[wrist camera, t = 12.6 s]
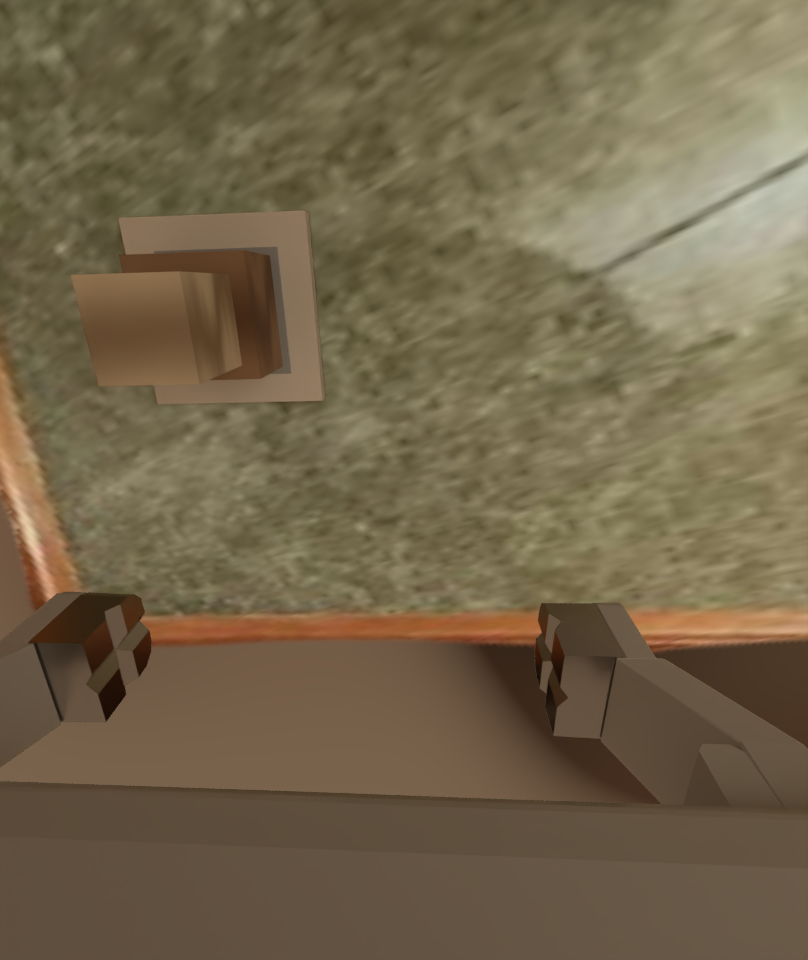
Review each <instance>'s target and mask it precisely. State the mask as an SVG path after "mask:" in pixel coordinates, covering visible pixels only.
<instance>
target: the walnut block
mask: <svg viewBox="0 0 808 960" xmlns="http://www.w3.org/2000/svg"><path fill="white" fill-rule="evenodd" d="M119 257H120V262H121V267H122V271H123V273H145V272H176V271H181V272H198V273H215V274H229V278H230V285H231V292H232V299H233V306H234V313H235V320H236V326H237V333H238V340H239V347H240V354H241V361H242V366H240V367H238V368H235V369H233V370H231V371H229V372H226V373H224V374H222V375H219V376H217V377H215V378H212V379H210V380H239V379H261V378H263V377H265V376H267V375H269V374H270V373H272V372H274V371H276V370H277V369H279V368H281V367H283V364H282V355H281V347H280V338H279V330H278V321H277V312H276V304H275V295H274V287H273V278H272V270H271V261H270V255H265V254H260V253H255V252H250V251H245V250H237V251H210V252H183V253H156V254H129V255H119Z"/></svg>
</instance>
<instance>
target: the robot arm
mask: <svg viewBox="0 0 808 960" xmlns="http://www.w3.org/2000/svg"><path fill="white" fill-rule="evenodd" d="M144 613H145V610H144V607H143V603H142V600H141V598H140V597H138V596H136V595H135V594H115V593H91V592H89V593H86V592H63V593H58V594H56V595H55V596H54V597H52V598H51V599H50V600H49V601H48V602H46V603H45V604H44V605H43V606H42V607H40V608H39V609H38V610H37V611H36V612H34V613H33V614H32V615H31V616H30V617H28V618H27V619H26V620H25V621H24V622H22V623H21V624H20V625H19V626H18V627H16V628H15V629H14V630H13V631H12V632H10V633H9V634H8V635H7V636H6V637H4V638H3V639H2V640H1V641H0V768H1V767H2V766H3V765H5V764H6V763H7V762H9V761H10V760H12V759H13V758H15V757H16V756H17V755H19V754H20V753H22V752H23V751H24V750H26V749H27V748H29V747H30V746H32V745H33V744H34V743H36V742H37V741H38V740H40V739H41V738H43V737H44V736H46V735H47V734H48V733H50V732H51V731H53V730H54V729H55V728H57V727H58V726H60V725H61V722H106V721H107V720H108V719H109V717H110V716H111V715H112V713H113V712H114V711H115V709H116V708H117V707H118V705H119V704H120V702H121V701H122V700H123V698H124V697H125V695H126V690H125V685H127V684H129V683H130V682H132V681H133V680H135V679H137V678H138V677H139V676H140V675H141V673H142V672H143V670H144V669H145V668H146V666H147V663H148V660H149V657H150V653H151V636H150V631H149V629H148V628H147V627H146V626H145V625H144V624H143V623H141V622H140V619H141V618H142V616H143V614H144ZM538 622H539V625H540V628H541V631H542V633H541V634H540V635H539V636H538V637H537V638H536V644H535V668H536V674H537V680H538V684H539V687H540V689H541V690H543V691H544V692H545V693H546V701H545V709H546V712H547V715H548V719H549V722H550V725H551V729H552V733H553V736H565V737H583V738H599V739H601V742H602V743H603V744H604V745H605V746H606V747H607V748H608V749H609V750H610V751H611V752H612V753H613V754H614V755H615V756H616V757H617V758H618V759H619V760H620V761H621V762H622V763H623V764H624V765H625V766H626V767H627V769H628V770H629V771H630V772H631V773H632V774H633V775H634V776H635V777H636V778H637V779H638V780H639V781H640V782H641V783H642V784H643V785H644V786H645V787H646V788H647V789H648V790H649V791H650V792H651V793H652V795H654V796H655V798H656V799H657V800H658V801H659V802H660V803H661V805H660V804H633V803H606V802H604V803H603V802H575V801H543V800H512V799H483V798H457V797H430V796H403V795H379V794H351V793H325V792H322V793H321V792H296V791H266V790H265V791H264V790H238V789H209V788H180V787H179V788H178V787H150V786H122V785H94V784H64V783H38V782H9V781H0V960H808V749H807V748H806V747H805V746H804V745H803V744H802V743H799V742H798V741H797V740H795V739H793V738H792V737H790V736H789V735H787V734H785V733H784V732H782V731H780V730H779V729H777V728H775V727H774V726H772V725H771V724H769V723H767V722H766V721H764V720H763V719H761V718H759V717H758V716H756V715H754V714H753V713H751V712H750V711H748V710H746V709H745V708H743V707H742V706H740V705H738V704H737V703H735V702H733V701H732V700H730V699H729V698H727V697H725V696H724V695H722V694H720V693H719V692H717V691H715V690H714V689H712V688H711V687H709V686H707V685H706V684H704V683H702V682H701V681H699V680H698V679H696V678H694V677H693V676H691V675H689V674H688V673H686V672H685V671H683V670H681V669H680V668H678V667H677V666H675V665H673V664H672V663H670V662H668V661H667V660H665V659H656V658H655V656H654V654H653V653H652V651H651V650H650V648H649V646H648V645H647V643H646V642H645V640H644V638H643V637H642V635H641V634H640V632H639V630H638V629H637V627H636V626H635V624H634V623H633V621H632V619H631V618H630V616H629V615H628V613H627V611H626V610H625V608H624V607H623V605H621V604H620V603H541V606H540V609H539V617H538Z"/></svg>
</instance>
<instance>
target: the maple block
mask: <svg viewBox="0 0 808 960" xmlns="http://www.w3.org/2000/svg"><path fill="white" fill-rule="evenodd" d="M71 278H72V282H73V286H74V290H75V294H76V298H77V302H78V306H79V310H80V314H81V318H82V322H83V326H84V330H85V334H86V338H87V342H88V346H89V350H90V354H91V358H92V362H93V366H94V370H95V374H96V378H97V382H98V386H136V385H183V384H201V383H203V382H206V381H208V380H210V379H212V378H215V377H217V376H219V375H222V374H224V373H226V372H229V371H231V370H233V369H235V368H238V367H240V366H242V361H241V354H240V347H239V340H238V333H237V326H236V320H235V313H234V306H233V299H232V292H231V285H230V278H229V274H215V273H198V272H181V271H176V272H145V273H114V274H83V275H71Z"/></svg>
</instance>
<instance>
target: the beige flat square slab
mask: <svg viewBox="0 0 808 960" xmlns="http://www.w3.org/2000/svg"><path fill="white" fill-rule="evenodd" d="M118 220H119V225H120V229H121V234H122V239H123V243H124V248H125V253H126V255H129V254H156V253H183V252H210V251H237V250H245V251H250V252H255V253H260V254H265V255H270V261H271V270H272V278H273V287H274V295H275V304H276V312H277V321H278V330H279V338H280V347H281V355H282V364H283V367H281V368H279V369H277V370H276V371H274V372H272V373H270V374H269V375H267V376H265V377H263V378H261V379H239V380H208V381H206V382H203V383H201V384H183V385H154V389H155V394H156V399H157V403H158V404H200V403H244V402H289V401H323V400H324V398H325V391H324V380H323V369H322V357H321V346H320V335H319V324H318V312H317V301H316V290H315V279H314V267H313V256H312V245H311V234H310V222H309V212H307V211H305V210H301V211H277V212H252V213H227V214H203V215H178V216H153V217H128V218H118Z"/></svg>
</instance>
